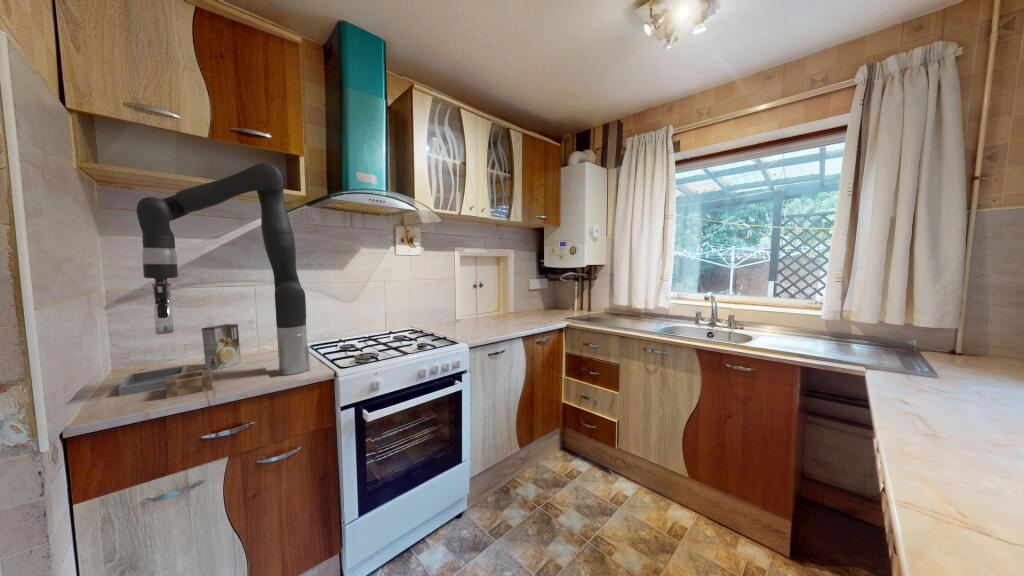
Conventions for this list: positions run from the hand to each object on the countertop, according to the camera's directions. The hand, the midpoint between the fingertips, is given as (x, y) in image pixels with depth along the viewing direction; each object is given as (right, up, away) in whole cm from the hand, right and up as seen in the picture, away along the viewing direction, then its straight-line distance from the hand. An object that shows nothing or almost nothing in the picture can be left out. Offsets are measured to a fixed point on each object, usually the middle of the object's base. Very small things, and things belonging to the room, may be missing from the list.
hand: (163, 316), depth 107 cm
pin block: (+10, -24, -1) cm, 26 cm away
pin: (0, -5, 0) cm, 5 cm away
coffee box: (-4, -22, +27) cm, 35 cm away
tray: (-7, -24, +5) cm, 25 cm away
